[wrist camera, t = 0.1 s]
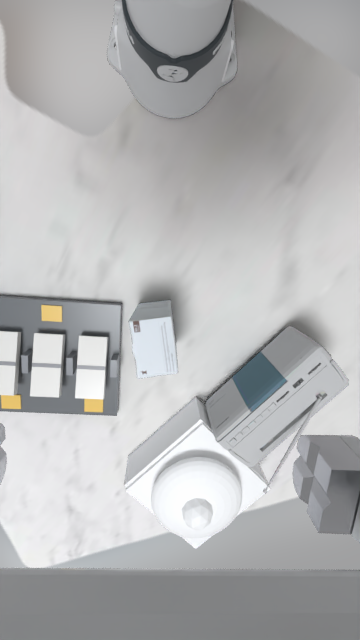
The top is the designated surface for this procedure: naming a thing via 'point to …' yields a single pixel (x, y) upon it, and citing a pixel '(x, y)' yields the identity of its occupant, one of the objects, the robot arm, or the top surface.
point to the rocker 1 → (9, 362)
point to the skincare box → (153, 339)
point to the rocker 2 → (47, 365)
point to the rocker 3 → (91, 367)
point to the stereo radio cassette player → (274, 397)
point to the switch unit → (72, 323)
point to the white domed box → (191, 477)
